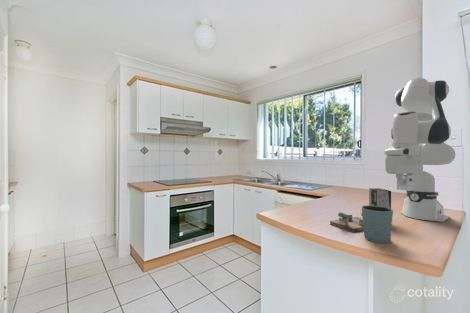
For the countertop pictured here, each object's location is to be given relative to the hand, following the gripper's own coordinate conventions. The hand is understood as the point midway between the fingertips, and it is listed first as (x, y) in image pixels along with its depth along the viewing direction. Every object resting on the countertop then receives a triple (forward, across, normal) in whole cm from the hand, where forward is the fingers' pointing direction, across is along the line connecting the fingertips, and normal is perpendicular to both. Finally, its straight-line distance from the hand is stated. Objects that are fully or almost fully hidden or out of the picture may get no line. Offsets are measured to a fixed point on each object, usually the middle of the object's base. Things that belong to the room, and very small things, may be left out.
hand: (405, 184), depth 89 cm
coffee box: (+21, -8, -15) cm, 27 cm away
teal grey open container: (+21, +16, -1) cm, 26 cm away
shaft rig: (+21, +8, -16) cm, 27 cm away
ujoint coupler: (+2, 0, 0) cm, 2 cm away
